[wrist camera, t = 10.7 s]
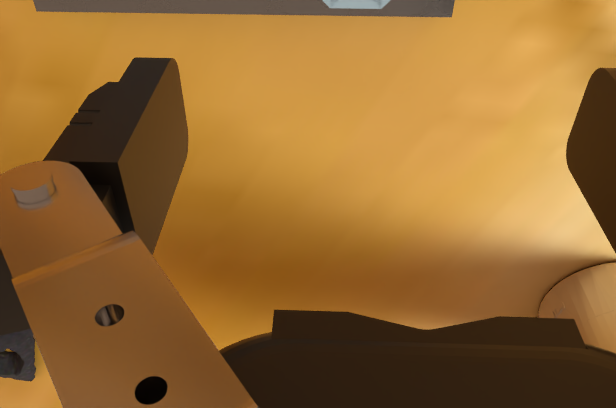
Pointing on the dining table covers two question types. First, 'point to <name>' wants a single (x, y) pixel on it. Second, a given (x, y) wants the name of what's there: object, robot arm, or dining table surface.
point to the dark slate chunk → (17, 355)
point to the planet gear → (356, 4)
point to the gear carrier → (249, 7)
